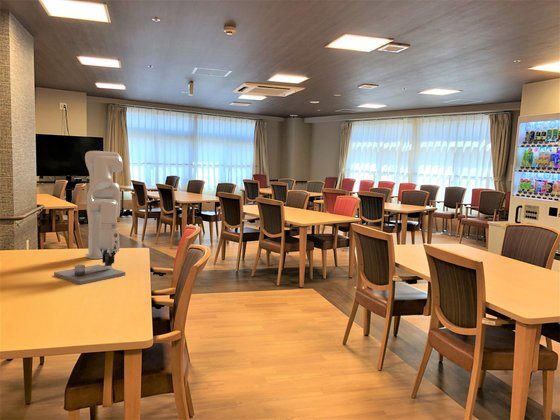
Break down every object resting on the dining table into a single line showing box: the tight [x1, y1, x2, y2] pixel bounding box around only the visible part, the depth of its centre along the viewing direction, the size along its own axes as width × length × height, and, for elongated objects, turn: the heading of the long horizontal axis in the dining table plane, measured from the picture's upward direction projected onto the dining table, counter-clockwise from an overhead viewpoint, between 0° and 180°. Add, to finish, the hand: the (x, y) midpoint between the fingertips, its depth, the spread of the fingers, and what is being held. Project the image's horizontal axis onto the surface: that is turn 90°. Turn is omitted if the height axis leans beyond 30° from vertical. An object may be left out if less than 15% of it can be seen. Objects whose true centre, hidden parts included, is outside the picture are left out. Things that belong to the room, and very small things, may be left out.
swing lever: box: [74, 253, 113, 276], centre depth 206 cm, size 20×4×8 cm, turn 151°
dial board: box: [53, 264, 126, 285], centre depth 206 cm, size 23×22×2 cm
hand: (108, 262), depth 213 cm, fingers closed on swing lever, 3 cm apart
